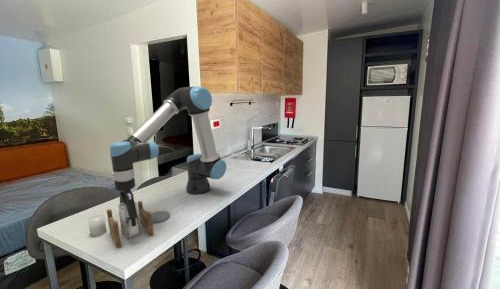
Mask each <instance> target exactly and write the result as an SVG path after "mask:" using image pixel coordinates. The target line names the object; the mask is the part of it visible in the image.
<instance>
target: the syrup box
mask: <svg viewBox="0 0 500 289" xmlns="http://www.w3.org/2000/svg"><path fill="white" fill-rule="evenodd" d="M134 202H135V201H134ZM117 206H118V214H119V221H120V228H121V230H120V232H121V235H122V236H124V238H126V239H127V240H129V239H130V238H133V237H136V236H138V235H140V234H141V232H142V231H141V224H140V218H139V209H138V202H135V207H136V212H137V216H138V218H137V227H138V232H135V233H132V234H131V233H130V225H129V220H128V218H129V214H128V211H127V207H126V204H124V203H121V204H120V203H118V204H117Z"/></svg>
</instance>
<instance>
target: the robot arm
mask: <svg viewBox="0 0 500 289" xmlns="http://www.w3.org/2000/svg"><path fill="white" fill-rule="evenodd" d="M212 103H213V96H212V94H211V92H210V90H209V89H207V88H206V87H203V86H198V85H197V86H184V87H180V88H178V89H176V90H175V91H174V92H172V93H170V95H168V96H167V97H166V98H165V99H164V100H163V104H162V105H161V106H160V107H159V108H158V109H157V110H155V112H153V114H151V115H150V116H149V117H148V118H147V119H146V120H145V121H144V122H143V123H142V124H141V125H140V126H139V127H138V128H137V129H136V130H135V131H134V132H133V133H131V135H130V136H128V138H126V139H122V140H120V141H118V142H113V143H111V144H110V146H109V147H110V148H109V152H110V160H111V166H112V172H113V173H111V176H112V177H113V179H114V180H113V181H114V188H115V190H116V191H117V192H118V191H119V204H121V203H124V204H126V207H127V211H128V214H129V218H128V220H129V225H130V233H131V234H132V233H135V232H138V227H137V218H138V216H137V212H136V207H135V198H134V193H133V192H132V189H134V188H135V187H136V180H135V169H134V164H135V163H139V162H144V161H148V160H153V159H156V158H157V157H159V154H160V150H159V149H160V148H159V146H158V144H157V143H156V142H154V141H153V142H152V141H150V139H152V137H154V136H155V135H156V134H157V133H158V131H159V130H160V129H161V128H162V127H164V125H165V124H166V123H167V122H168V121H169V120H170V119H171V118H172V117H173V116H174V115H177V114H179V113H180V112H181V111H183V110H187V114H188V116H190V117H192V121H193V122H192V123H193V126H194V129H195V133H196V138H197V142H198V145H199V146H198V147H199V149H200V153H197V154H196V153H195V154H192V155H191V154H190V155H188V156H187V158H186V168H187V183H186V186H185V190H186V193H187V194H189V195H202V194H206V193H208V192H209V191H210V190H211V184H210V181H209V180H208V178H209V179H211V180H220V179H222V178H223V177H224V175H225V173H226V171H227V163H226V161H225V160H223V159H222V158H221V154H220V153H219V152H217V149H216V145H215V144H216V143H215V139H214V135H213V131H212V125H211V122H210V118H209V113H210V111H211V106H212Z"/></svg>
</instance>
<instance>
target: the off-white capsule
mask: <svg viewBox="0 0 500 289" xmlns="http://www.w3.org/2000/svg"><path fill="white" fill-rule="evenodd" d="M87 221H88V226H89V228H88V229H89V234H90V236H91V237H95V238H96V237H100V236H103V235H104V234H106V233H107V226H106V219H105V215H104V214H98V215H93V216H91V217H89V218H88V220H87Z"/></svg>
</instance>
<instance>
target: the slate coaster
mask: <svg viewBox="0 0 500 289" xmlns="http://www.w3.org/2000/svg"><path fill="white" fill-rule="evenodd" d="M170 213H171V212H169V211H165V210H159V211H155V212H151V217H152V225H155V224H160V223H163V222H166V221H168V220H169V219H170V218H171V214H170Z"/></svg>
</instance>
